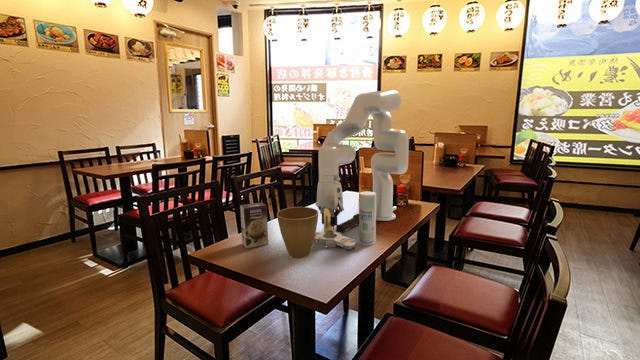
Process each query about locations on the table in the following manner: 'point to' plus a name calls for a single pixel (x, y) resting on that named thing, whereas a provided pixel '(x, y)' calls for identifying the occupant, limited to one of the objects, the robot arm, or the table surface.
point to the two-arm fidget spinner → (335, 240)
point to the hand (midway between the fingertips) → (329, 224)
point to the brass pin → (328, 221)
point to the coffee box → (254, 224)
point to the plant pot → (298, 229)
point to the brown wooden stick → (348, 224)
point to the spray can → (367, 217)
